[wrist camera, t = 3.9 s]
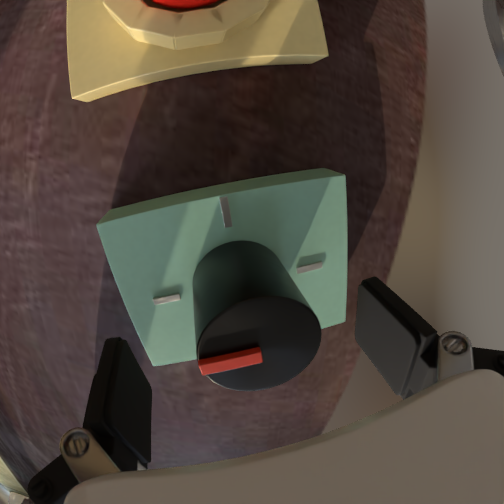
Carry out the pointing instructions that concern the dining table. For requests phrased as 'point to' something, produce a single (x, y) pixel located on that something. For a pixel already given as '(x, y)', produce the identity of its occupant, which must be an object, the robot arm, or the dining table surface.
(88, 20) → the button block
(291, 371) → the knob
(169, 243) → the dial panel
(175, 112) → the dining table surface
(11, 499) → the cylinder
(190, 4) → the button
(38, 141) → the dining table surface
